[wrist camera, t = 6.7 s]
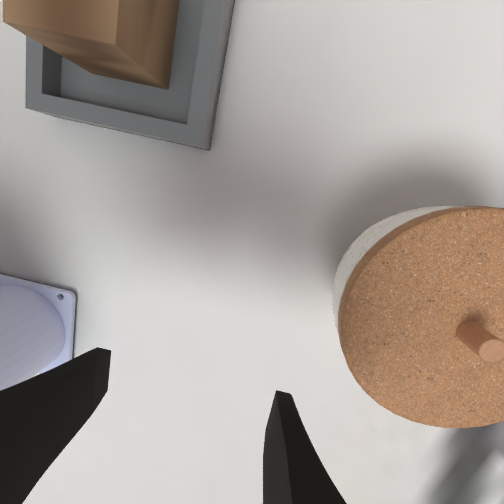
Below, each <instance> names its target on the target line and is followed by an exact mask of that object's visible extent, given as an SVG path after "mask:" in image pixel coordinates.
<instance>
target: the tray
mask: <svg viewBox="0 0 504 504" xmlns="http://www.w3.org/2000/svg"><path fill="white" fill-rule="evenodd" d="M234 1H235V0H180V3H179V11H178V18H177V26H176V34H175V42H174V50H173V58H172V66H171V74H170V82H169V90H166V89H162V88H157V87H152V86H147V85H143V84H138V83H133V82H129V81H124V80H119V79H114V78H110V77H105V76H100V75H96V74H92V73H90V72H88V71H86V70H85V69H83V68H81V67H80V66H78V65H76V64H75V63H73V62H71V61H69V60H68V59H66V58H64V57H63V56H61V55H59V54H58V53H56V52H54V51H52V50H51V49H49V48H47V47H46V46H44V45H42V44H41V43H39V42H37V41H35V40H34V39H32V38H30V37H29V36H27V35H26V108H27V109H31V110H34V111H37V112H41V113H44V114H48V115H51V116H54V117H59V118H63V119H68V120H73V121H77V122H82V123H86V124H91V125H95V126H100V127H105V128H109V129H114V130H118V131H123V132H127V133H132V134H136V135H141V136H146V137H150V138H155V139H159V140H164V141H168V142H173V143H178V144H182V145H187V146H191V147H196V148H200V149H205V150H210V145H211V139H212V133H213V127H214V121H215V115H216V109H217V103H218V97H219V91H220V85H221V79H222V73H223V67H224V61H225V55H226V49H227V43H228V37H229V31H230V25H231V19H232V13H233V7H234Z"/></svg>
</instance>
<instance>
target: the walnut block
mask: <svg viewBox="0 0 504 504" xmlns="http://www.w3.org/2000/svg"><path fill="white" fill-rule="evenodd" d="M179 3H180V0H3V22H5V23H7V24H8V25H10V26H12V27H13V28H15V29H17V30H18V31H20V32H22V33H24V34H25V35H27V36H29V37H30V38H32V39H34V40H35V41H37V42H39V43H41V44H42V45H44V46H46V47H47V48H49V49H51V50H52V51H54V52H56V53H58V54H59V55H61V56H63V57H64V58H66V59H68V60H69V61H71V62H73V63H75V64H76V65H78V66H80V67H81V68H83V69H85V70H86V71H88V72H90V73H92V74H96V75H100V76H105V77H110V78H114V79H119V80H124V81H129V82H133V83H138V84H143V85H147V86H152V87H157V88H162V89H166V90H169V82H170V74H171V66H172V58H173V50H174V42H175V34H176V26H177V18H178V11H179Z"/></svg>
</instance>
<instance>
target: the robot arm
mask: <svg viewBox="0 0 504 504" xmlns="http://www.w3.org/2000/svg"><path fill="white" fill-rule="evenodd" d="M61 294H62V295H63V297H64V298H63V297H62V296H61ZM75 303H76V296H75V294H74V293H73V292H72V291H69V290H65V289H60V288H56V287H52V286H48V285H44V284H40V283H36V282H31V281H27V280H23V279H19V278H15V277H11V276H7V275H2V274H0V504H22V503H23V502H24V500H25V499H26V497H27V496H28V495H29V493H30V492H31V490H32V489H33V487H34V486H35V485H36V483H37V482H38V480H39V479H40V478H41V476H42V475H43V474H44V473H45V471H46V470H47V469H48V467H49V466H50V465H51V464H52V463H53V461H54V460H55V459H56V458H57V456H58V455H59V454H60V453H61V452H62V450H63V449H64V448H65V447H66V446H67V444H68V443H69V442H70V441H71V440H72V438H73V437H74V436H75V435H76V433H77V432H78V431H79V430H80V429H81V427H82V426H83V425H84V424H85V422H86V421H87V420H88V419H89V417H90V416H91V415H92V414H93V412H94V411H95V409H96V408H97V406H98V405H99V403H100V402H101V400H102V398H103V397H104V395H105V394H106V392H107V390H108V379H109V368H110V357H111V351H110V350H106V349H102V348H98V347H97V348H95V349H93V350H90V351H88V352H86V353H84V354H82V355H80V356H78V357H76V358H74V359H72V351H73V335H74V319H75ZM37 373H42V374H39V375H37V376H35V375H36V374H37ZM33 376H35V377H33ZM263 504H346V502H345V501H344V499H343V498H342V496H341V495H340V493H339V491H338V490H337V488H336V487H335V485H334V483H333V482H332V480H331V478H330V477H329V475H328V473H327V472H326V470H325V468H324V466H323V464H322V463H321V461H320V459H319V457H318V455H317V453H316V451H315V449H314V447H313V445H312V443H311V441H310V439H309V436H308V434H307V432H306V430H305V428H304V425H303V423H302V421H301V418H300V416H299V413H298V411H297V408H296V406H295V403H294V400H293V397H292V395H291V394H289V393H285V392H281V391H277V390H276V393H275V397H274V400H273V404H272V408H271V412H270V415H269V419H268V423H267V427H266V432H265V442H264V452H263Z"/></svg>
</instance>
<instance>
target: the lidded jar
mask: <svg viewBox="0 0 504 504" xmlns="http://www.w3.org/2000/svg"><path fill="white" fill-rule="evenodd" d="M332 305H333V313H334V319H335V324H336V328H337V331H338V334H339V338H340V344H341V348H342V351H343V354H344V356H345V359H346V362H347V364H348V367H349V369H350V371H351V372H352V374H353V376H354V378H355V379H356V381H357V382H358V384H359V385H360V386H361V387H362V388H363V390H364V391H365V392H366V393H367V394H368V395H369V396H370V397H371V398H372V399H374V400H375V401H376V402H377V403H378V404H380V405H381V406H383V407H384V408H386V409H388V410H389V411H391V412H392V413H394V414H397V415H399V416H401V417H404V418H406V419H408V420H410V421H414V422H418V423H422V424H425V425H430V426H436V427H443V428H468V427H479V426H485V425H489V424H493V423H497V422H501V421H504V208H496V207H486V206H465V207H462V206H433V207H422V208H417V209H412V210H407V211H404V212H401V213H398V214H395V215H392V216H389V217H387V218H385V219H383V220H381V221H379V222H377V223H375V224H374V225H372V226H371V227H369V228H368V229H367V230H365V231H364V232H363V233H362V234H361V235H360V236H359V237H358V238H357V239H355V240H354V241H353V243H352V244H351V245H350V247H349V248H348V249H347V251H346V252H345V254H344V255H343V257H342V259H341V261H340V263H339V265H338V268H337V271H336V274H335V279H334V285H333V292H332Z"/></svg>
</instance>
